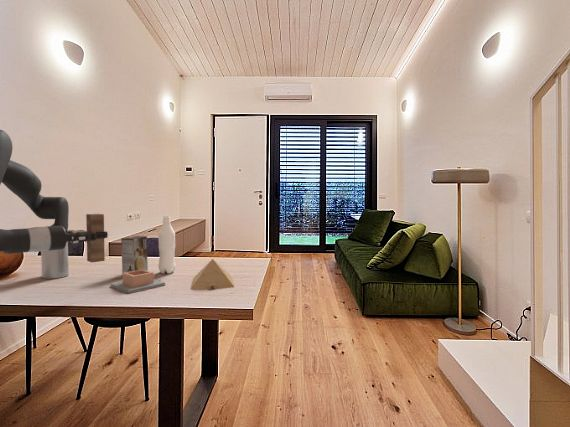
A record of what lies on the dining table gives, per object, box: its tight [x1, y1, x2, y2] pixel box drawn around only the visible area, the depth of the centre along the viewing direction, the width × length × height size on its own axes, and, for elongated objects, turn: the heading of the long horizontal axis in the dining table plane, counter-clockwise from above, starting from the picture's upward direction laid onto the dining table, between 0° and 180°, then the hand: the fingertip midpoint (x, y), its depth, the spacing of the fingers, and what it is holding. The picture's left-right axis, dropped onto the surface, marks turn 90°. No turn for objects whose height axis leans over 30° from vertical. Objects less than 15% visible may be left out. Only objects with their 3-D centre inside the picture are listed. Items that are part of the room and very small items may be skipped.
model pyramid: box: [190, 258, 235, 290], centre depth 129 cm, size 17×17×10 cm
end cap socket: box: [110, 269, 166, 294], centre depth 124 cm, size 14×14×5 cm
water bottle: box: [157, 215, 177, 275], centre depth 145 cm, size 7×7×25 cm
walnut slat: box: [85, 213, 106, 263], centre depth 112 cm, size 4×4×16 cm
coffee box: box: [120, 235, 149, 273], centre depth 143 cm, size 9×6×16 cm
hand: (103, 234), depth 114 cm, fingers closed on walnut slat, 4 cm apart
